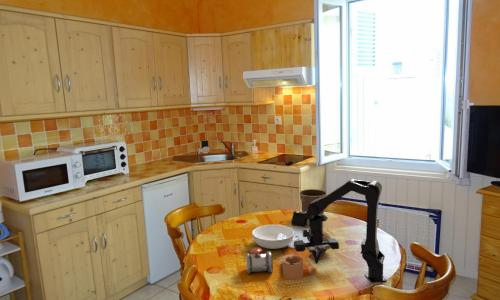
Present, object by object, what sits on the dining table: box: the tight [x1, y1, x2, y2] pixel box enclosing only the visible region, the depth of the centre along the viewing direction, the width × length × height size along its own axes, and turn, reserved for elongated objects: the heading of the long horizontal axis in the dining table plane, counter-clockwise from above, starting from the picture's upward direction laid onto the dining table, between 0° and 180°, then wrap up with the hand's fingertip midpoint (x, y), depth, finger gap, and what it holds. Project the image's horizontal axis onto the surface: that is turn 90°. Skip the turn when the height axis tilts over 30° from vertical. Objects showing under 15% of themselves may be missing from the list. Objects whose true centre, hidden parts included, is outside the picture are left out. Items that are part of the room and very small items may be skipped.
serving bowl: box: [251, 224, 295, 250], centre depth 183 cm, size 21×21×7 cm
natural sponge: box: [315, 230, 332, 251], centre depth 173 cm, size 9×9×10 cm
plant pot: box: [298, 188, 328, 216], centre depth 217 cm, size 16×16×16 cm
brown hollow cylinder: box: [281, 253, 304, 281], centre depth 158 cm, size 18×8×7 cm, turn 176°
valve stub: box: [245, 247, 274, 274], centre depth 157 cm, size 10×9×10 cm
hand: (316, 263), depth 159 cm, fingers closed
